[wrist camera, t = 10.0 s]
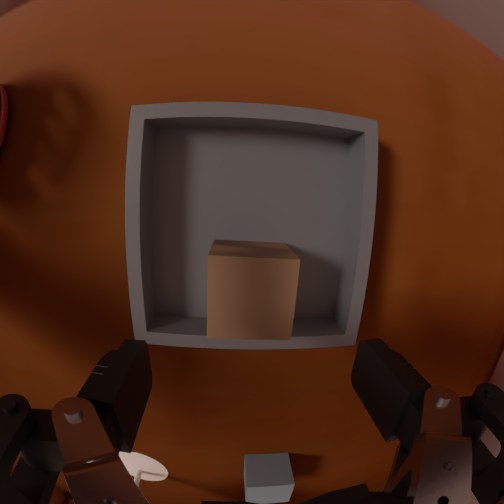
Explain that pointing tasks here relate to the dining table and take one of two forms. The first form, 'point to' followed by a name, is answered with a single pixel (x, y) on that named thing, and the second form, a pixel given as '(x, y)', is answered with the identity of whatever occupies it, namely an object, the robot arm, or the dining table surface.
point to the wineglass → (143, 467)
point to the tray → (248, 213)
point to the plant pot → (3, 113)
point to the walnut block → (251, 290)
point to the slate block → (268, 478)
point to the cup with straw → (59, 496)
